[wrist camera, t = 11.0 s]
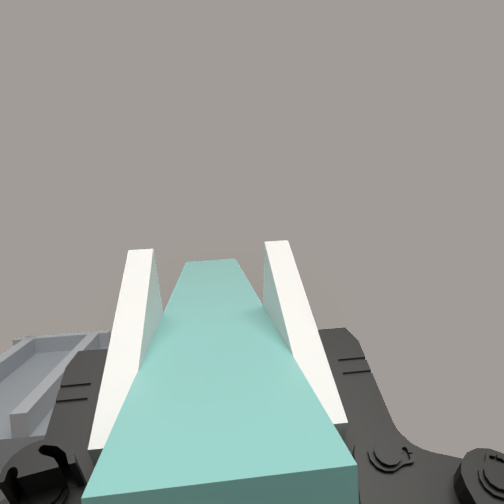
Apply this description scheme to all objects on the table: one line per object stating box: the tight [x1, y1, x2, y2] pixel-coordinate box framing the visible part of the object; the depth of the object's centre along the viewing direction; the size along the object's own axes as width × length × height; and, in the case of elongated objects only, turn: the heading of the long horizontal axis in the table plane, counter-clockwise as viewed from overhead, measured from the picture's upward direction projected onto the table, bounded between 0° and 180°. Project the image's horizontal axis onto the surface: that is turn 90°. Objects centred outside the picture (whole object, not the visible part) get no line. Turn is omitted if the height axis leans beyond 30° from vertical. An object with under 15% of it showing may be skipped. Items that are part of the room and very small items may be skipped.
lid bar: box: [81, 259, 359, 504], centre depth 18 cm, size 4×26×4 cm, turn 6°
